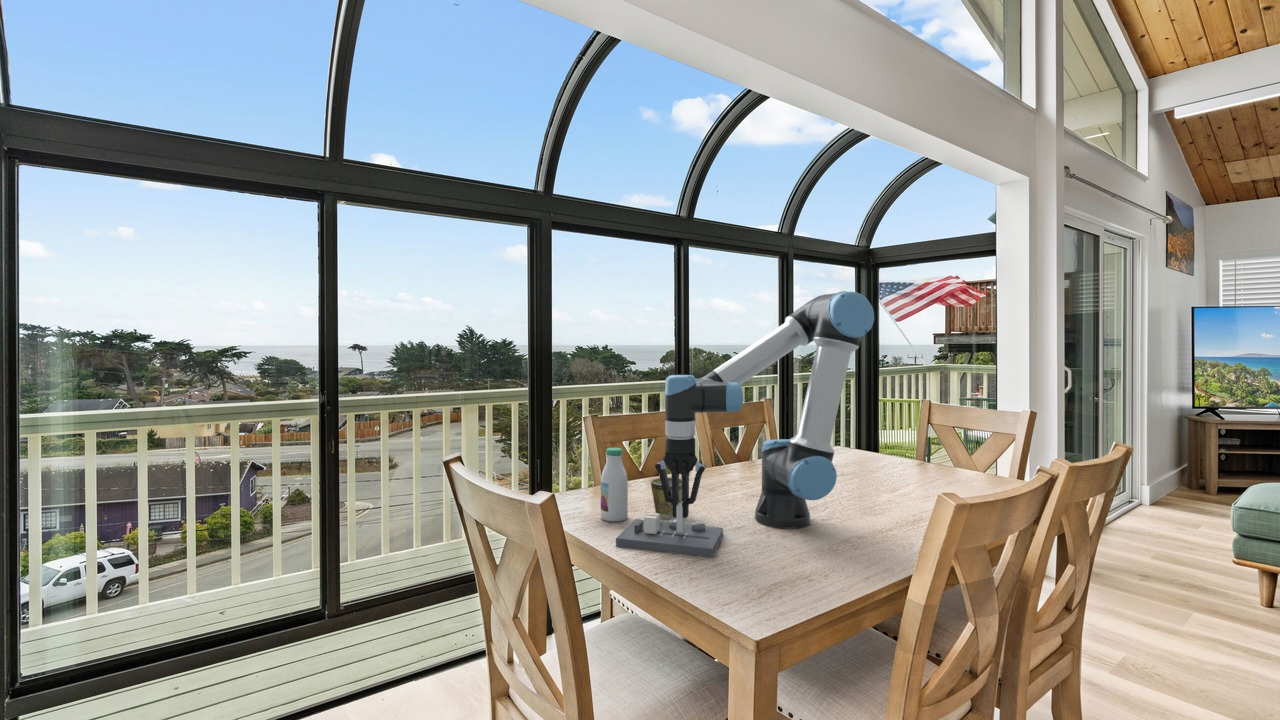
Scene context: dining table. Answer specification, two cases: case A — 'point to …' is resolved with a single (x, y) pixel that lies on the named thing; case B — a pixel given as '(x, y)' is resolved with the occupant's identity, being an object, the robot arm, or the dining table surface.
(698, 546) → the console
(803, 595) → the dining table surface
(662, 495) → the ceramic cup
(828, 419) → the robot arm
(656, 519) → the fader cap
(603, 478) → the milk bottle
